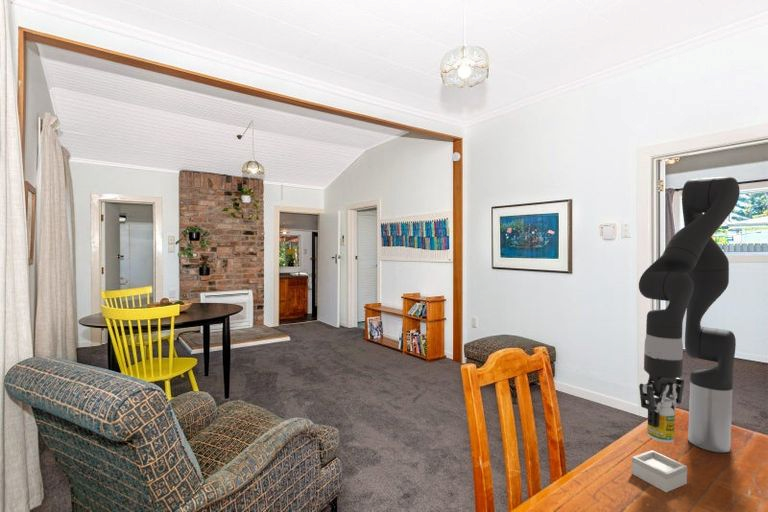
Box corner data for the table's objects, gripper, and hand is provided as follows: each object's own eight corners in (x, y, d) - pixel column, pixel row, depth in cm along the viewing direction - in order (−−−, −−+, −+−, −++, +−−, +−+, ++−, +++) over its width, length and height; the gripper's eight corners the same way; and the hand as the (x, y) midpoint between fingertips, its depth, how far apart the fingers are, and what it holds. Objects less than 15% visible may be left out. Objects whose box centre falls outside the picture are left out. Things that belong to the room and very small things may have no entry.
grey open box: (651, 465, 100) (652, 449, 100) (686, 483, 93) (687, 466, 93) (631, 473, 97) (632, 456, 97) (666, 492, 90) (666, 474, 89)
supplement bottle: (653, 430, 98) (654, 392, 98) (678, 439, 94) (679, 399, 93) (643, 436, 95) (644, 397, 95) (668, 445, 91) (669, 404, 90)
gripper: (664, 347, 100) (662, 412, 101) (628, 353, 94) (626, 422, 95) (698, 355, 93) (695, 424, 94) (661, 362, 87) (659, 436, 88)
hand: (660, 423), depth 94 cm, fingers closed on supplement bottle, 5 cm apart
